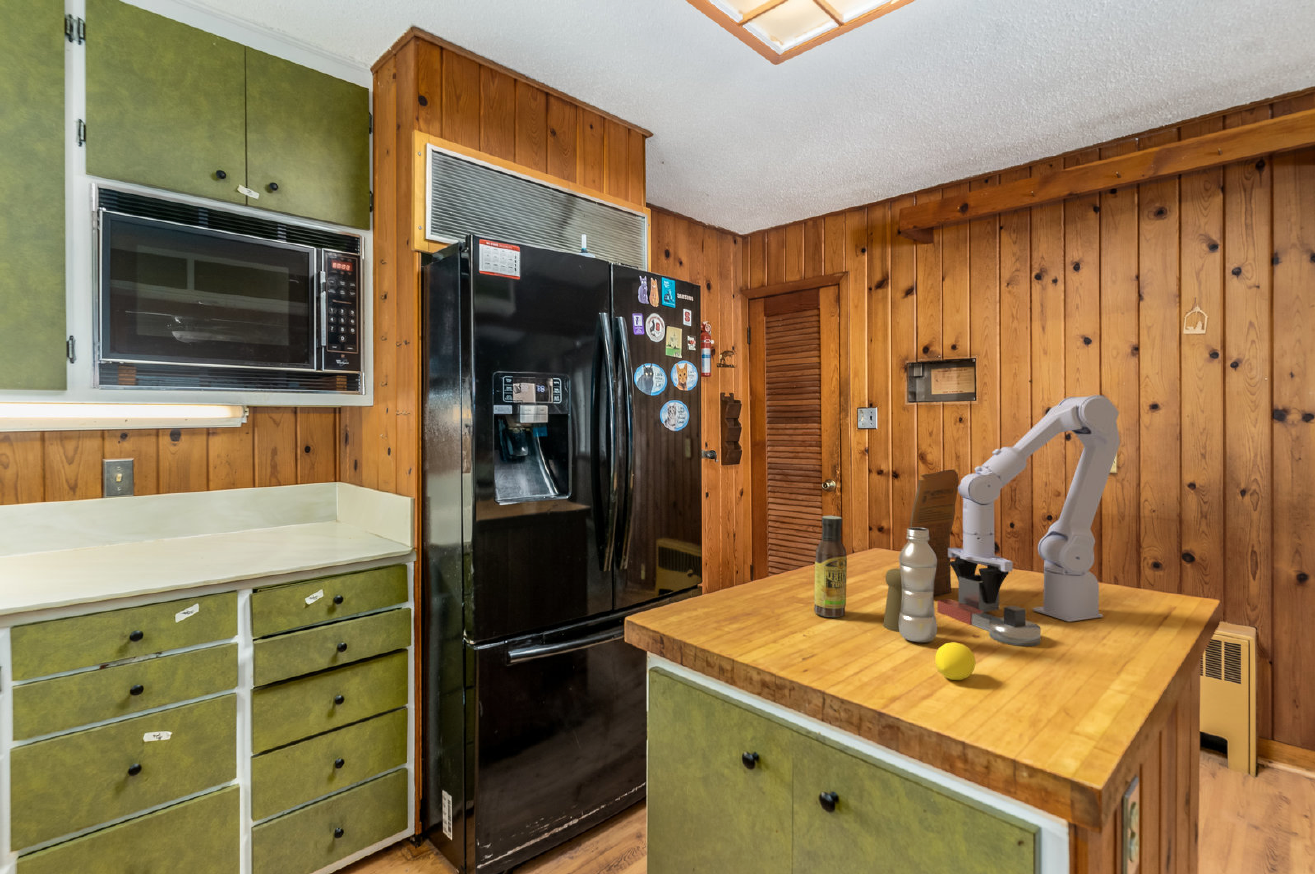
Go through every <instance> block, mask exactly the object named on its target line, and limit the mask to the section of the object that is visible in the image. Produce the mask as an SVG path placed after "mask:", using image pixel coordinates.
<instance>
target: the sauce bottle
mask: <svg viewBox="0 0 1315 874" xmlns="http://www.w3.org/2000/svg"><path fill="white" fill-rule="evenodd" d="M821 525H822V531H821V540H820V541H819V543H818V544H817V546H816V549H815V561H814V594H813V604H814V607H813V608H814V613H815V614H817V615H819V616H821V617H825V618H840V617H843V616H845V615H846V606H847V568H848V567H847V565H848V557H847V549H846V547H845V546H844V544H843V542H842V525H843V517H841V516H836V515H823V516H821Z"/></svg>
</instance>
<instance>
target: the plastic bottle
mask: <svg viewBox="0 0 1315 874" xmlns="http://www.w3.org/2000/svg"><path fill="white" fill-rule="evenodd" d="M905 537H906V538H905V539H906V540H907V543H905V544H904V546H903V547H902V549H901V551H899V555H898V563H899V565H898V566H899V569H900V572H901V582H902V601H901V612H900V615H899V622H898V626H899V632H898V633H900V635H901V637H902V638H903V639H906V640H907V641H911V642H914V643H929V642H932V641H933V640H934V639H935V638H936V636H937V631H938V624H937V618H936V613H935V612H936V611H935V600H934V597H933V594H934V591H933V590H934V579H935V573H936V566H937V558H936V555H935V553H934V551H933V550H932V548H931V547H930V546H929V544H928V542H927V541H928V540H929V531H928V529H926V528H918V527H911V528H910V527H907V528H906V536H905Z"/></svg>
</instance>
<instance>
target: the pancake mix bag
mask: <svg viewBox="0 0 1315 874" xmlns="http://www.w3.org/2000/svg"><path fill="white" fill-rule="evenodd" d="M917 485H918V486H917V488H916V489H917V490H916V492H915V498H914V501H913V505H912V506H913V507H912V510H911V516H910V522H909V528H911V527H918V528H926V529H928V531H929V540H928V541H927V542H928V544H929V546H930V547H931V548H932V550H933V551H934V553H935V555H936V558H937V566H936V573H935V579H934V590H933V591H934V594H933V598H934V597H937V596H940V595H945V594H947V593H952V579H951V577H952V576H951V575H952V573H951V570H952V569H951V568H952V566H951V565H950V562H951V558H950V557H948V548H951V533H952V528H953V525H954V521H955V515H956V502H957V497H958V493H959V491H958V486H959V474H958V472H957V471H956V470H955V469H947V470H939V471H937V472H932V473H925V474H922V475H920V479H919V480H918V484H917Z"/></svg>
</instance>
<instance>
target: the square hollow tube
mask: <svg viewBox="0 0 1315 874" xmlns="http://www.w3.org/2000/svg"><path fill="white" fill-rule="evenodd" d="M958 602H959V603H962V604H965V605H968V606H971V607H974V608H976V609H979V610H982V611H983V612H984V613H987V612H992V611H998V610H999V611H1000V591H999V592H998V595H997V599H996V603H991V604H987V603H985V600H984V588H983V582H982V578H981V575H980V573H978V574H976V573H975V575H967V576H959V581H958Z"/></svg>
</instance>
